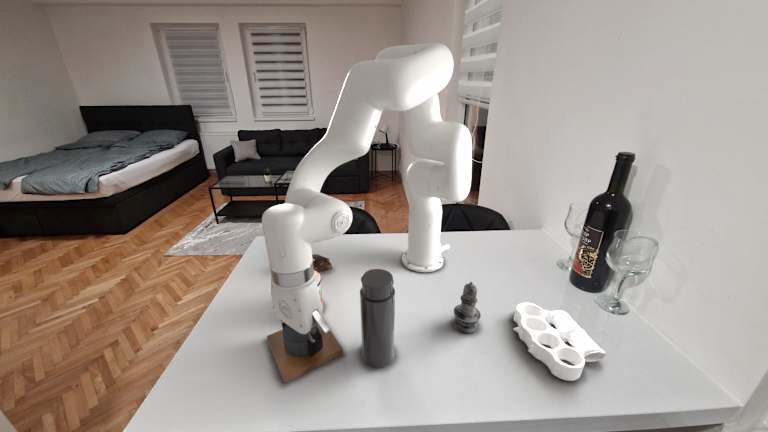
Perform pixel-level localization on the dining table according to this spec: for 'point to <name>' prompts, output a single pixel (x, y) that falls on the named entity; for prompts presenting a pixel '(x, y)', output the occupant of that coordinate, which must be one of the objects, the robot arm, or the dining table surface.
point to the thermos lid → (296, 341)
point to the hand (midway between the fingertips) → (303, 341)
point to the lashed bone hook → (321, 263)
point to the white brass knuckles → (556, 340)
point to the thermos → (377, 317)
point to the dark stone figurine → (467, 311)
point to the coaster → (301, 364)
